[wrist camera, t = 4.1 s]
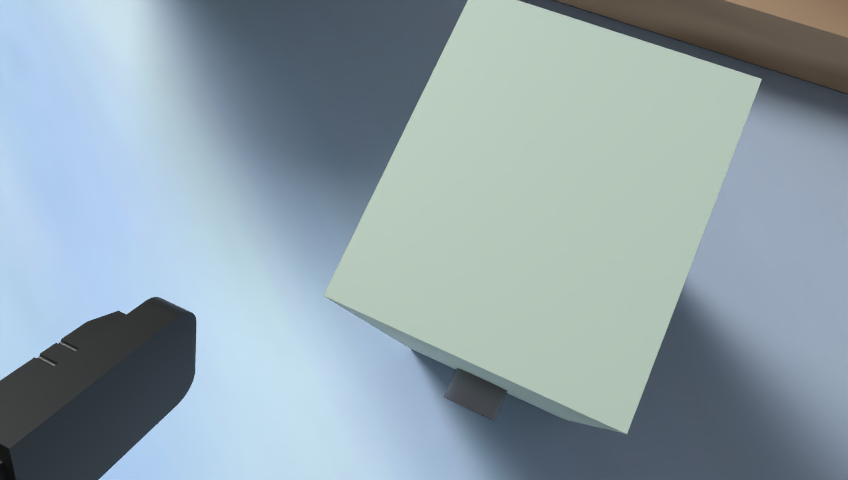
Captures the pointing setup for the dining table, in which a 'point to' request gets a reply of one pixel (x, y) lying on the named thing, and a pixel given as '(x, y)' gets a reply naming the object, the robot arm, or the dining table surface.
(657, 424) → the dining table surface
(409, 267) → the cabinet
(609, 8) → the wooden stand
